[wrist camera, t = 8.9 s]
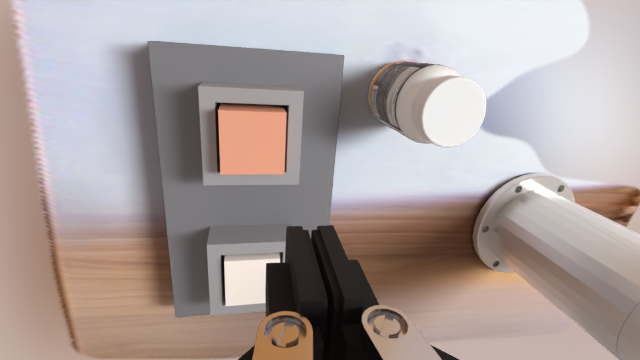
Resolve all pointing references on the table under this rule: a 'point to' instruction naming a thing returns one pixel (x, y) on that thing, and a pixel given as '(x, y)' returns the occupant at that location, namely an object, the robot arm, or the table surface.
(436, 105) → the pill bottle
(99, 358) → the table surface
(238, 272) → the pale key
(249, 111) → the terracotta key
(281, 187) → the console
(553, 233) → the robot arm
